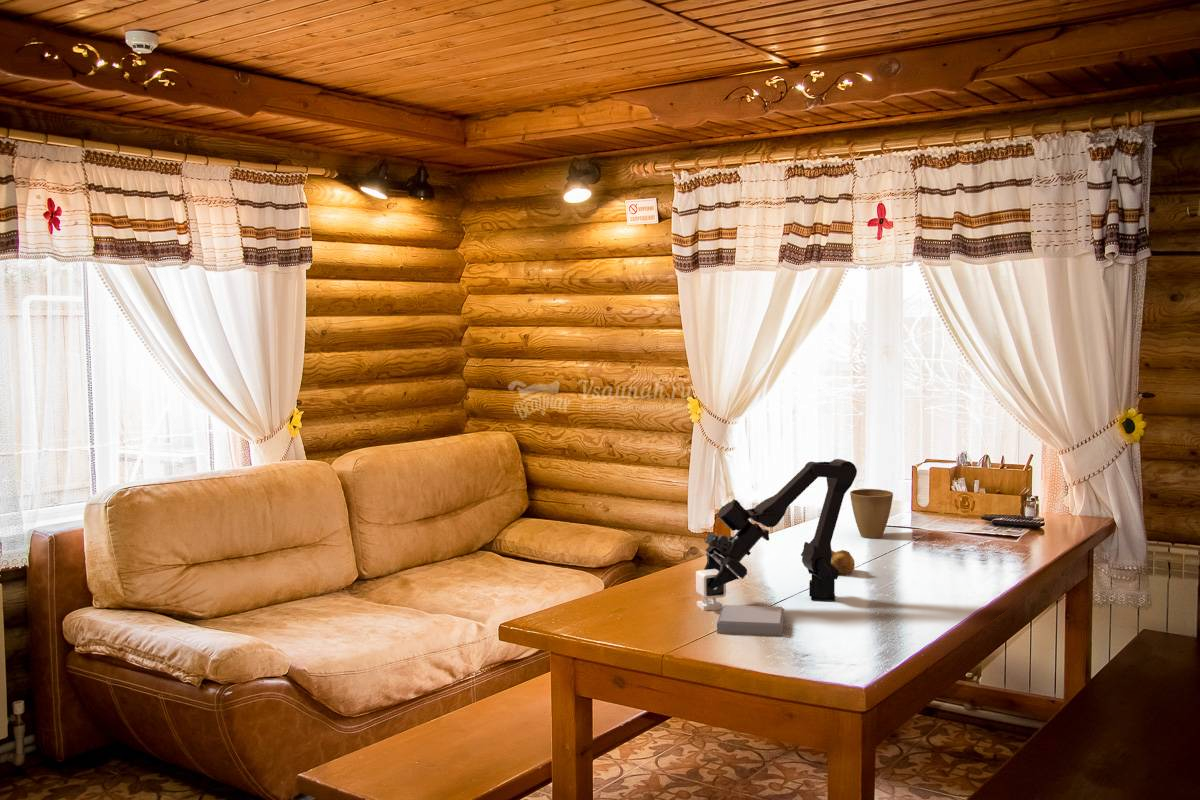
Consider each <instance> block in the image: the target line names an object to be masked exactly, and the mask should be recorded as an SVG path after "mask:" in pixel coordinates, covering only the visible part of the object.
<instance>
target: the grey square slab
mask: <svg viewBox="0 0 1200 800" xmlns="http://www.w3.org/2000/svg"><path fill="white" fill-rule="evenodd" d="M720 610H721V611H720V613H719V615H718V619H717V621H716V633H717V634H727V633H729V634H730V635H731V634H732V635H734V634H735V635H752V636H753V635H756V636H778V637H780V636H781V637H782V636H783V630H784V622H785V621H784V620H785V608H784V607H782V606H770V605H769V606H764V605H737V604H724V605H722V609H720Z"/></svg>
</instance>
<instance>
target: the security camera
mask: <svg viewBox="0 0 1200 800" xmlns="http://www.w3.org/2000/svg"><path fill="white" fill-rule="evenodd" d="M718 572H719V571H718V570H716V569H709V570H704V569H701V570H700V569H698V570H697V571H695V592H696V594H698V595H700V596H702V597H703V599H704V600H697V601H696V606H697V607H698V608H699V609H700V610H702V611H713V610H716V611H717V610H722V607H723V603H721V602H720V601H718V600H717V598H718V599H719V598H725V596H726V595H727V583H725V584H723V585H721V586H719V587H716V588H714V589H711V588H710V587H709V586H710V584H711V582H712V581H713V579H714V578H715V577H716V575H717V574H718Z"/></svg>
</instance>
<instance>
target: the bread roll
mask: <svg viewBox="0 0 1200 800" xmlns="http://www.w3.org/2000/svg"><path fill="white" fill-rule="evenodd" d="M831 551H832V559H831V564H832V565H833V566H834V567H835V568H836V569H837V570H838V571H839V575H838V576H840V575H841V576H845V575H848V574H851V573H852V572H853V571H854V570H855V559H854V557H853V555H851V553H850V551H848V550H843V549H842V550H838V551H837V550H836V551H834V550H832V549H831Z"/></svg>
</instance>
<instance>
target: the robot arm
mask: <svg viewBox="0 0 1200 800" xmlns="http://www.w3.org/2000/svg"><path fill="white" fill-rule="evenodd" d="M857 472H858V468H857V467H856V465H855V464H854V463H853V462H851V461H848V460H844V459H841V458H835V459H833V460H831V461H817V462H816V461H808V462H807V463H806V464H805V465H804V467H802V469H800V471H798V473H796V474H795V475H794V476H793V477H792V478H791V479H790V480H789V481H788V482H787V483H786V484H785V485H784V486H783V487H782V488H781V489H780V490H779V491H778V492H777V493H775V494H773V496H771V497H768V498H766V499H764V500H763V501H761V502H760V503H758V504H757V505H756V506H755V507H753V508H750V509H746V508H745V507H743V506H742V504H741V503H740V502H739V501H738V499H735V498H733V499H732V500H731V501H729V502H728V503H726V504H725V505H722V507H720V509H719V510H718V512H717V518H718V519H719V520H721V522H722V523H724V524H725V526H726V527H727V528H729V529H730V530H731V531H732V532H733V531H737V532H736V533H735V535H733V536H732V535H730V536H727V535H723V534H722V533H721V534H720V535H717V534H715V533H713V532H710V531H709V532H708V535H707V537H706V539H705V542H704V543H705V544H707V545H708V547H707V548H705V552H706V553H705V556H706V564H705V567H704V569H703V570H709V569H716V570H718V571H719V572H718V574H717V575H716V577H715V578H714V579H713V581H712V582H711V584H710V586H709V587H710V588H711V589H714V588H716V587H719V586H721V585H723V584H725V583H726V584H728V583H731V582H733V581H735V580H736V581H737V580H739V579H742V580H743V579H744V578H745V577H746V576H747V574H748V569H747V567H745V566H744V565H743V564H742V563H741V561H742V560H743V558H745V557H746V555H747V556H750V555H751V554H752V552H750V550H751V549H752V548H754V546H755V545H756V544H758V543H757V542H758V541H760V539H761V538H762V539H763V540H765V541H767V542H768V541H770V536H769V533H770V531H769V529H766V527H767V528H774V527H776V526H777V525H779V523H780V521H781V520H782V519H783V517H784V516H785V514H786V511H787V509H788V508H789V506H790V505H791V504H792V503H793V502H794V501H795V500H797V498H799V497H800V495H801V494H802V493H803V492H804V491H806V490H807V489H808V488H809V486H810V485H812V484H813V483H814V482H815V481H816V479H818V478H826V483H827V484H826V485H827V489H826V495H825V498H824V501H823V505H822V507H821V508H822V509H821V512H820V515H819V519H818V523H817V527H816V529H815V533H814V537H813V539H812V540H811V541H810V542H807V541H805V542H804V544H803V550H802V552H801V553H800V556H801V563H802V564H803V566H804V567H805V568H806V569H807V571H808V574H810V575H811V579H809V583H808V584H809V585H808V587H809V597H810V599H811V601H824V602H827V601H828V602H835V601H836V595H835V593H836V591H835V589H836V588H835V587H836V586H835V585H836V584H835V582H836V581H835V580H838V578H839V576H840V575H839V571H838V570H837V569H836V568H835V567H834V566H833V565H832V564H831V559H832V551H833V550H832V540H833V536H834V532H835V529H836V525H837V522H838V518H839V514H840V511H841V508H842V504H843V500H844V497H845V494H846V493H847V491H849V489H850V488H851V487H852V485H853V483H854V481H855V479H856V477H857V474H858V473H857ZM751 520H752V521H753V522H755V523H752V522H751ZM759 524H760V525H759ZM761 525H762V526H764V527H765V529H763V527H761ZM831 550H832V551H831Z"/></svg>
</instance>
